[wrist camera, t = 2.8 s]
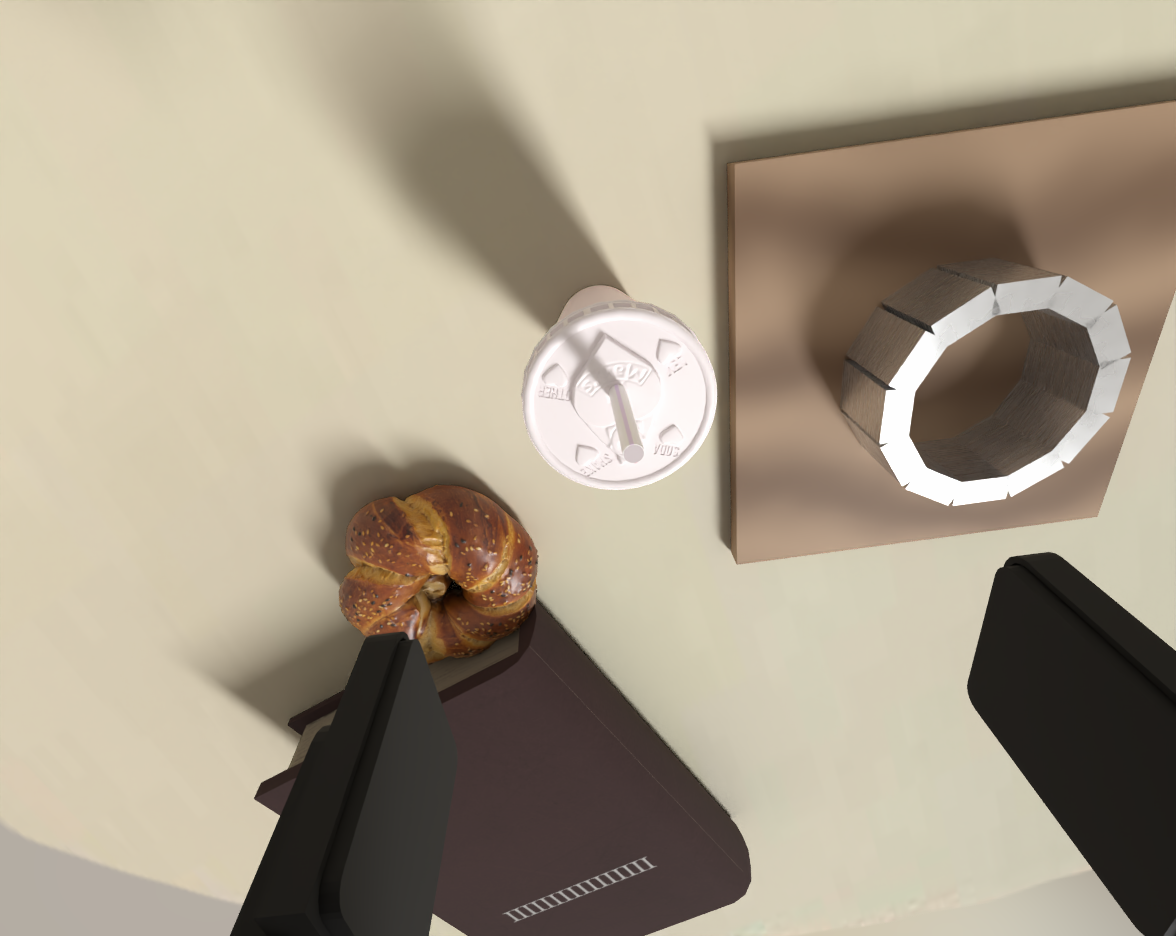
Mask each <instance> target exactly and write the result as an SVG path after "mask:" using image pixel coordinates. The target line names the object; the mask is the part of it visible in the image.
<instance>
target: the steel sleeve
mask: <svg viewBox="0 0 1176 936" xmlns="http://www.w3.org/2000/svg"><path fill="white" fill-rule="evenodd" d="M1112 302H1113V300H1111V299H1109V298H1107V297H1106V296H1104V295H1102V294H1100V293H1098V292H1096V291H1094V290H1092V289H1091V288H1089V287H1087V286H1085V285H1083V284H1081V283H1079V282H1077V281H1076V280H1074V279H1072V278H1070V277H1068V276H1064V275H1061V274H1057V273H1053V272H1049V271H1045V270H1041V269H1037V268H1033V267H1029V266H1025V265H1022V264H1018V263H1014V262H1010V261H1006V260H1002V259H996V258H986V259H979V260H972V261H964V262H957V263H950V264H943V265H937V269H935V268H930V269H929V270H927V271H926V272H924V273H923V274H921V275H920V276H918V277H917V278H915V279H914V280H912V281H911V282H909V283H908V284H906V285H905V286H903V287H902V288H901V289H899V290H898V291H896V292H895V293H893V294H892V295H890V296H889V297H887V298H886V299H884V300H883V301H881V303H882V305H883V307H884V309H885V310H883V309H881V308H879V307H877V306H876V308H875V309H874V311H873V312H872V314H871V316H870V317H869V319H868V320H867V322H866V324H865V325H864V327H863V328H862V330H861V331H860V333H859V335H858V336H857V338H856V339H855V341H854V342H853V344H852V346H851V347H850V349H849V350H848V352H847V353H846V355H847V356H848V357H850V358H851V359H846V360H844V365H843V377H842V388H841V400H840V408H841V409H842V411H841V413H842V414H843V416H844V418H845V419H846V421H847V423H848V424H849V426H850V428H851V429H852V431H853V433H854V434H855V436H856V438H857V440H858V441H859V443H860V445H861V446H862V447H863V448H864V449H865V450H866V451H867V452H868V453H869V454H870V455H871V456H872V457H873V458H874V459H875V460H876V461H877V462H878V463H879V464H880V465H881V466H882V467H883V468H884V469H885V470H886V471H887V472H888V473H889V474H891V475H892V476H893V477H894V478H895V479H896V480H897V481H898V482H899V483H900V484H901V485H902V486H903V487H904V488H905V489H907V490H910V491H913V492H915V493H918V494H920V495H923V496H925V497H928V498H931V499H933V500H936V501H938V502H941V503H943V504H946V505H948V504H949V503H950V504H951V505H953V506H954V505H962V504H969V503H977V502H984V501H992V500H999V499H1006V495H1007V494H1008V495H1009V496H1011V497H1012V496H1013V495H1015V494H1017V493H1019V492H1021V491H1023V490H1024V489H1026V488H1028V487H1030V486H1032V485H1033V484H1035V483H1037V482H1039V481H1041V480H1042V479H1044V478H1046V477H1048V476H1050V475H1052V474H1053V473H1055V472H1057V471H1059V470H1061V469H1062V468H1064V467H1063V464H1062V462H1061V461H1064V462H1066V463H1068V464H1069V463H1070V462H1071V461H1072V460H1073V458H1074V457H1075V456H1076V455H1077V454H1078V453H1079V452H1080V451H1081V449H1082V448H1083V447H1084V446H1085V445H1086V444H1087V443H1088V442H1089V440H1090V439H1091V438H1092V437H1093V436H1094V435H1095V434H1096V433H1097V431H1098V430H1099V429H1100V428H1101V427H1102V426H1103V425H1104V424H1105V422H1106V421H1107V420H1108V419H1109V418H1110V417H1108V416H1106V415H1104V414H1102V413H1110V412H1113V411H1114V408H1115V405H1116V402H1117V399H1118V396H1119V393H1120V390H1121V387H1122V384H1123V381H1124V377H1125V374H1126V371H1127V368H1128V365H1129V362H1130V359H1131V358H1130V357H1128V356H1126V355H1127V354H1129V353H1131V350H1130V347H1129V343H1128V340H1127V337H1126V333H1125V330H1124V327H1123V323H1122V320H1121V317H1120V313H1119V310H1118V307H1117V305H1116V304H1113V303H1112ZM1017 312H1020V313H1021V315H1022V318H1023V321H1024V323H1025V326H1026V328H1027V331H1028V333H1029V336H1030V342H1029V346H1028V350H1027V354H1026V358H1025V362H1024V367H1023V371H1022V375H1021V379H1020V380H1019V381H1018V383H1017V384H1016V385H1015V387H1014V388H1013V389H1012V390H1011V392H1010V393H1009V394H1008V395H1007V397H1006V398H1005V399H1004V401H1003V402H1002V403H1001V404H1000V406H999V407H998V408H997V409H996V411H995V412H994V413H993V415H991V416H989V417H988V418H986V419H984V420H983V421H981V422H979V423H977V424H976V425H974V426H972V427H971V428H969V429H967V430H966V431H964V432H962V433H961V434H959V435H957V436H956V437H954V438H947V439H939V440H932V441H924V442H917V443H913V442H912V441H911V439H910V437H909V429H910V422H911V416H912V409H913V402H914V396H915V391H916V390H917V388H918V387H919V385H920V384H921V383H922V381H923V380H924V378H925V377H926V376H927V374H928V373H929V371H930V370H931V368H932V367H933V366H934V364H935V363H936V361H937V360H938V359H939V357H940V356H941V354H942V353H943V352H944V350H945V349H946V347H947V346H949V345H951V344H952V343H954V342H955V341H957V340H958V339H960V338H962V337H963V336H965V335H966V334H968V333H969V332H971V331H973V330H974V329H976V328H977V327H979V326H980V325H982V324H984V323H985V322H987V321H988V320H990V319H991V318H993V317H995V316H996V315H1003V314H1010V313H1017Z"/></svg>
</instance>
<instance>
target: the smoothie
mask: <svg viewBox="0 0 1176 936" xmlns="http://www.w3.org/2000/svg"><path fill="white" fill-rule="evenodd" d="M521 396H522V403H523V416H524V421H525V426H526V429H527V432H528V434H529V437H530V439H531V441H532V443H533V445H534V446H535V448H536V450H537V451H538V452H539V454H540V455H541V456H542V458H543V459H544V460H545V461H546V462H547V463H548V464H549V465H550V466H551V467H553V468H554V469H555V470H556V471H558V472H559V473H560V474H562V475H564V476H565V477H567V478H569V479H571V480H573V481H575V482H577V483H580V484H583V485H586V486H590V487H593V488H599V489H608V490H623V489H631V488H637V487H641V486H645V485H648V484H651V483H654V482H656V481H658V480H661V479H663V478H665V477H666V476H668V475H670V474H672V473H673V472H675V471H676V470H677V469H679V468H680V467H681V466H682V465H684V464H685V463H686V462H687V461H688V460H689V459H690V458H691V457H692V456H693V455H694V454H695V453H696V451H697V450H698V449H699V447H700V446H701V445H702V443H703V441H704V440H705V438H706V436H707V434H708V432H709V430H710V428H711V425H712V422H713V419H714V415H715V411H716V404H717V384H716V379H715V374H714V370H713V367H712V365H711V362H710V360H709V358H708V356H707V352H706V351H705V349H704V348H703V346H702V344H701V343H700V341H699V339H698V338H697V336H696V335H695V333H694V332H693V331H692V330H691V329H690V328H689V327H688V326H687V325H686V324H684V323H683V322H682V321H681V320H680V319H679V318H678V317H677V316H675V315H674V314H672V313H670V312H667V311H665V310H663V309H661V308H659V307H657V306H655V305H653V304H649V303H643V302H637V301H635V300H634V299H632V298H631V297H629V296H628V295H626V294H625V293H623V292H622V291H620V290H618V289H616V288H614V287H611V286H605V285H595V286H590V287H587V288H584V289H582V290H580V291H579V292H577V293H576V294H575V295H573V296H572V297H571V298H570V299H569V301H568V302H567V303H566V305H565V307H564V309H563V311H562V313H561V315H560V317H559V319H558V321H557V323H556V324H555V325H554V326H552V327H551V328H550V329H549V330H548V332H547V333H546V334H545V335H544V337H543V338H542V339H541V340H540V341H539V343H538V344H537V345H536V346H535V348H534V350H533V352H532V355H531V357H530V359H529V361H528V364H527V366H526V368H525V371H524V378H523V386H522V393H521Z"/></svg>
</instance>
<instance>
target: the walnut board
mask: <svg viewBox="0 0 1176 936" xmlns="http://www.w3.org/2000/svg"><path fill="white" fill-rule="evenodd" d="M727 208H728V301H729V393H730V486H731V552H732V555H733V557H734V559H735V561H736V564H745V563H752V562H760V561H768V560H775V559H783V558H790V557H798V556H805V555H813V554H820V553H828V552H835V551H843V550H850V549H858V548H865V547H873V546H881V545H888V544H896V543H903V542H911V541H918V540H926V539H933V538H941V537H948V536H956V535H963V534H971V533H978V532H986V531H994V530H1001V529H1009V528H1016V527H1024V526H1031V525H1039V524H1046V523H1054V522H1061V521H1069V520H1076V519H1084V518H1091V517H1097V516H1098V513H1099V510H1100V508H1101V505H1102V502H1103V499H1104V496H1105V493H1106V490H1107V487H1108V484H1109V481H1110V479H1111V476H1112V473H1113V470H1114V467H1115V464H1116V461H1117V458H1118V455H1119V453H1120V450H1121V447H1122V444H1123V441H1124V438H1125V435H1126V432H1127V429H1128V426H1129V424H1130V421H1131V418H1132V415H1133V412H1134V409H1135V406H1136V403H1137V400H1138V398H1139V395H1140V392H1141V389H1142V386H1143V383H1144V380H1145V377H1146V374H1147V372H1148V369H1149V366H1150V363H1151V360H1152V357H1153V354H1154V351H1155V348H1156V345H1157V343H1158V340H1159V337H1160V334H1161V331H1162V328H1163V325H1164V322H1165V319H1166V317H1167V314H1168V311H1169V308H1170V305H1171V302H1172V299H1173V296H1174V293H1175V290H1176V100H1170V101H1163V102H1156V103H1149V104H1142V105H1135V106H1128V107H1121V108H1114V109H1107V110H1100V111H1093V112H1086V113H1079V114H1072V115H1065V116H1058V117H1050V118H1043V119H1036V120H1029V121H1022V122H1015V123H1008V124H1001V125H994V126H987V127H980V128H973V129H966V130H959V131H952V132H945V133H938V134H931V135H924V136H917V137H910V138H902V139H895V140H888V141H881V142H874V143H867V144H860V145H853V146H846V147H839V148H832V149H825V150H818V151H811V152H804V153H797V154H790V155H783V156H776V157H769V158H761V159H754V160H747V161H740V162H733V163H727ZM986 258H996V259H1002V260H1006V261H1010V262H1014V263H1018V264H1022V265H1025V266H1029V267H1033V268H1037V269H1041V270H1045V271H1049V272H1053V273H1057V274H1061V275H1064V276H1068V277H1070V278H1072V279H1074V280H1076V281H1077V282H1079V283H1081V284H1083V285H1085V286H1087V287H1089V288H1091V289H1092V290H1094V291H1096V292H1098V293H1100V294H1102V295H1104V296H1106V297H1107V298H1109V299H1111V300H1113V302H1112V303H1113V304H1116V305H1117V307H1118V310H1119V313H1120V317H1121V320H1122V323H1123V327H1124V330H1125V333H1126V337H1127V340H1128V343H1129V347H1130V350H1131V353H1129V354H1127V355H1126V356H1128V357H1130V358H1131V359H1130V362H1129V365H1128V368H1127V371H1126V374H1125V377H1124V381H1123V384H1122V387H1121V390H1120V393H1119V396H1118V399H1117V402H1116V405H1115V408H1114V411H1113V412H1110V413H1102V414H1104V415H1106V416H1108V417H1110V418H1109V419H1108V420H1107V421H1106V422H1105V424H1104V425H1103V426H1102V427H1101V428H1100V429H1099V430H1098V431H1097V433H1096V434H1095V435H1094V436H1093V437H1092V438H1091V439H1090V440H1089V442H1088V443H1087V444H1086V445H1085V446H1084V447H1083V448H1082V449H1081V451H1080V452H1079V453H1078V454H1077V455H1076V456H1075V457H1074V458H1073V460H1072V461H1071V462H1070V463H1069V464H1068V463H1066V462H1064V461H1061V462H1062V464H1063V467H1064V468H1062V469H1061V470H1059V471H1057V472H1055V473H1053V474H1052V475H1050V476H1048V477H1046V478H1044V479H1042V480H1041V481H1039V482H1037V483H1035V484H1033V485H1032V486H1030V487H1028V488H1026V489H1024V490H1023V491H1021V492H1019V493H1017V494H1015V495H1013V496H1012V497H1011V496H1009V495H1008V494H1007V495H1006V499H999V500H992V501H984V502H977V503H969V504H962V505H954V506H953V505H951V504H950V503H949V504H948V505H946V504H943V503H941V502H938V501H936V500H933V499H931V498H928V497H925V496H923V495H920V494H918V493H915V492H913V491H910V490H907V489H905V488H904V487H903V486H902V485H901V484H900V483H899V482H898V481H897V480H896V479H895V478H894V477H893V476H892V475H891V474H889V473H888V472H887V471H886V470H885V469H884V468H883V467H882V466H881V465H880V464H879V463H878V462H877V461H876V460H875V459H874V458H873V457H872V456H871V455H870V454H869V453H868V452H867V451H866V450H865V449H864V448H863V447H862V446H861V445H860V443H859V441H858V440H857V438H856V436H855V434H854V433H853V431H852V429H851V428H850V426H849V424H848V423H847V421H846V419H845V418H844V416H843V414H842V413H841V411H842V409H841V408H840V400H841V388H842V377H843V365H844V360H846V359H851V358H850V357H848V356H847V355H846V353H847V352H848V350H849V349H850V347H851V346H852V344H853V342H854V341H855V339H856V338H857V336H858V335H859V333H860V331H861V330H862V328H863V327H864V325H865V324H866V322H867V320H868V319H869V317H870V316H871V314H872V312H873V311H874V309H875V308H876V306H877V307H879V308H881V309H883V310H885V309H884V307H883V305H882V303H881V301H883V300H884V299H886V298H887V297H889V296H890V295H892V294H893V293H895V292H896V291H898V290H899V289H901V288H902V287H903V286H905V285H906V284H908V283H909V282H911V281H912V280H914V279H915V278H917V277H918V276H920V275H921V274H923V273H924V272H926V271H927V270H929V269H930V268H935V269H937V265H943V264H950V263H957V262H964V261H972V260H979V259H986ZM1029 342H1030V336H1029V333H1028V331H1027V328H1026V326H1025V323H1024V321H1023V318H1022V315H1021V313H1020V312H1017V313H1010V314H1003V315H996V316H995V317H993V318H991V319H990V320H988V321H987V322H985V323H984V324H982V325H980V326H979V327H977V328H976V329H974V330H973V331H971V332H969V333H968V334H966V335H965V336H963V337H962V338H960V339H958V340H957V341H955V342H954V343H952V344H951V345H949V346H947V347H946V349H945V350H944V352H943V353H942V354H941V356H940V357H939V359H938V360H937V361H936V363H935V364H934V366H933V367H932V368H931V370H930V371H929V373H928V374H927V376H926V377H925V378H924V380H923V381H922V383H921V384H920V385H919V387H918V388H917V390H916V391H915V396H914V402H913V409H912V416H911V422H910V429H909V437H910V439H911V441H912V442H913V443H917V442H924V441H932V440H939V439H947V438H954V437H956V436H957V435H959V434H961V433H962V432H964V431H966V430H967V429H969V428H971V427H972V426H974V425H976V424H977V423H979V422H981V421H983V420H984V419H986V418H988V417H989V416H991V415H993V413H994V412H995V411H996V409H997V408H998V407H999V406H1000V404H1001V403H1002V402H1003V401H1004V399H1005V398H1006V397H1007V395H1008V394H1009V393H1010V392H1011V390H1012V389H1013V388H1014V387H1015V385H1016V384H1017V383H1018V381H1019V380H1020V379H1021V375H1022V371H1023V367H1024V362H1025V358H1026V354H1027V350H1028V346H1029Z"/></svg>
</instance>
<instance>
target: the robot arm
mask: <svg viewBox="0 0 1176 936" xmlns="http://www.w3.org/2000/svg"><path fill="white" fill-rule="evenodd" d="M967 689H968V695H969V698H970V700H971V703H972V705H973V706H974V708H975V709H976V711H977V712H978V714H979V715H980V716H981V718H982V719H983V720H984V722H985V723H986V724H987V726H988V727H989V728H990V730H991V731H992V733H993V734H994V735H995V737H996V738H997V739H998V741H999V742H1000V743H1001V745H1002V746H1003V748H1004V749H1005V750H1006V752H1007V753H1008V754H1009V756H1010V757H1011V758H1012V760H1013V761H1014V763H1015V764H1016V765H1017V767H1018V768H1019V769H1020V771H1021V772H1022V773H1023V775H1024V776H1025V778H1026V779H1027V780H1028V782H1029V783H1030V784H1031V786H1032V787H1033V788H1034V790H1035V791H1036V792H1037V794H1038V795H1039V797H1040V798H1041V799H1042V801H1043V802H1044V803H1045V805H1046V806H1047V807H1048V809H1049V810H1050V812H1051V813H1052V814H1053V816H1054V817H1055V818H1056V820H1057V821H1058V822H1059V824H1060V825H1061V827H1062V828H1063V829H1064V831H1065V832H1066V833H1067V835H1068V836H1069V837H1070V839H1071V840H1072V841H1073V843H1074V844H1075V846H1076V847H1077V848H1078V850H1079V851H1080V852H1081V854H1082V855H1083V856H1084V858H1085V859H1086V861H1087V862H1088V863H1089V865H1090V866H1091V867H1092V869H1093V870H1094V871H1095V873H1096V874H1097V876H1098V877H1099V878H1100V880H1101V881H1102V882H1103V884H1104V885H1105V886H1106V888H1107V889H1108V891H1109V892H1110V893H1111V894H1112V896H1113V897H1114V899H1115V900H1116V901H1117V903H1118V904H1119V905H1120V907H1121V908H1122V909H1123V911H1124V912H1125V914H1126V915H1127V916H1128V918H1129V919H1130V920H1131V922H1132V923H1133V924H1134V925H1135V927H1136V928H1137V929H1138V930H1139V931H1140V932H1141V933H1142V934H1143V935H1144V936H1176V651H1175V650H1174V649H1173V648H1172V647H1170V646H1169V645H1168V644H1167V643H1165V642H1164V641H1163V640H1162V639H1161V638H1159V637H1158V636H1157V635H1156V634H1154V633H1153V632H1152V631H1151V630H1150V629H1148V628H1147V627H1146V626H1145V625H1144V624H1142V623H1141V622H1140V621H1139V620H1137V619H1136V618H1135V617H1134V616H1133V615H1131V614H1130V613H1129V612H1128V611H1127V610H1125V609H1124V608H1123V607H1122V606H1120V605H1119V604H1118V603H1117V602H1116V601H1114V600H1113V599H1112V598H1111V597H1109V596H1108V595H1107V594H1106V593H1105V592H1103V591H1102V590H1101V589H1100V588H1099V587H1097V586H1096V585H1095V584H1094V583H1092V582H1091V581H1090V580H1089V579H1088V578H1086V577H1085V576H1084V575H1083V574H1082V573H1080V572H1079V571H1078V570H1077V569H1075V568H1074V567H1073V566H1072V565H1071V564H1069V563H1068V562H1067V561H1066V560H1064V559H1063V558H1062V557H1060V556H1059V555H1057V554H1055V553H1051V552H1046V553H1038V554H1030V555H1022V556H1014V557H1010V558H1009V559H1008V560H1007V561H1006V562H1005V564H1004V567H1002V568H999V569H998V570H997V572H996V574H995V578H994V582H993V586H992V589H991V593H990V597H989V601H988V605H987V609H986V613H985V617H984V621H983V625H982V629H981V632H980V636H979V640H978V644H977V648H976V652H975V656H974V660H973V664H972V668H971V671H970V675H969V679H968V684H967ZM457 761H458V756H457V747H456V743H455V740H454V737H453V734H452V731H451V729H450V726H449V723H448V720H447V717H446V714H445V712H444V709H443V706H442V703H441V700H440V697H439V695H438V692H437V689H436V686H435V683H434V680H433V678H432V675H431V672H430V669H429V666H428V663H427V661H426V658H425V655H424V652H423V649H422V646H421V644H420V642H419V640H418V639H411V640H410V639H409V637H408V635H407V634H406V633H405V632H394V633H386V634H377V635H369V636H368V637H367V638H366V639H365V641H364V643H363V645H362V648H361V651H360V653H359V656H358V658H357V661H356V663H355V666H354V668H353V671H352V673H351V676H350V678H349V681H348V683H347V686H346V688H345V691H344V693H343V696H342V698H341V701H340V703H339V706H338V708H337V711H336V713H335V716H334V718H333V721H332V723H331V725H326V726H323V727H322V728H321V729H320V730H319V731H318V732H317V733H316V735H315V736H314V738H313V740H312V742H311V744H310V746H309V749H308V751H307V754H306V756H305V758H304V761H303V763H302V766H301V768H300V770H299V773H298V775H297V777H296V780H295V782H294V785H293V787H292V789H291V792H290V794H289V796H288V799H287V801H286V804H285V806H284V808H283V811H282V813H281V815H280V818H279V820H278V823H277V825H276V827H275V830H274V832H273V835H272V837H271V839H270V842H269V844H268V846H267V849H266V851H265V854H264V856H263V858H262V861H261V863H260V865H259V868H258V870H257V873H256V875H255V877H254V880H253V882H252V884H251V887H250V889H249V892H248V894H247V896H246V899H245V901H244V903H243V906H242V908H241V911H240V913H239V915H238V918H237V920H236V923H235V925H234V927H233V930H232V932H231V934H230V936H429V931H430V925H431V919H432V913H433V907H434V901H435V895H436V889H437V884H438V878H439V872H440V866H441V860H442V854H443V848H444V842H445V836H446V830H447V824H448V818H449V812H450V806H451V801H452V795H453V789H454V783H455V777H456V771H457Z"/></svg>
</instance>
